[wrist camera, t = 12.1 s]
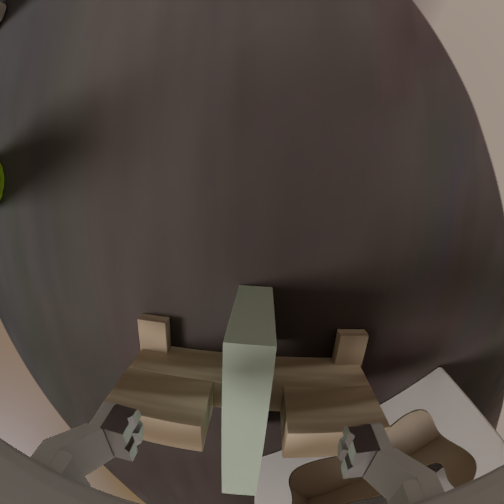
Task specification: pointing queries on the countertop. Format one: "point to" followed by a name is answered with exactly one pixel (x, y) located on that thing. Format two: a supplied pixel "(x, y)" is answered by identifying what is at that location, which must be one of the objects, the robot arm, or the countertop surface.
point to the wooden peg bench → (282, 397)
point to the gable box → (401, 437)
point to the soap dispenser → (1, 181)
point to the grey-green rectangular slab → (247, 387)
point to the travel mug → (2, 10)
